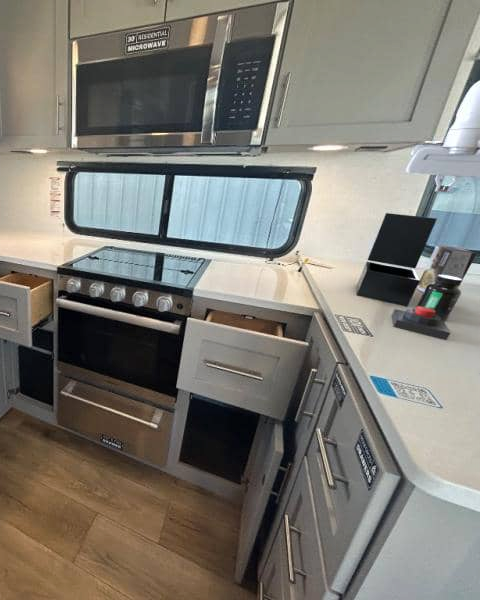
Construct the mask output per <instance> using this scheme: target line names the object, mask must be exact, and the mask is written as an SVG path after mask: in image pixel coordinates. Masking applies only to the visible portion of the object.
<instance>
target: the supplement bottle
mask: <svg viewBox="0 0 480 600" xmlns="http://www.w3.org/2000/svg"><path fill="white" fill-rule="evenodd" d="M435 281H436V282H435V283H432V284H429V285H428V286H427V287H426V289H425V291H424V292H422V295H421V296H420V297H421V298H420V299H419V301H418V303H417V305H416V306H415V309H416V308H417V306H421V307H427V308H430V309H433V310H435V311H436V312H435V314H436V315H438V316H440V318H441V320H444V321H447V320H448V318H449V316H450V315H451V313H452V311H453V309H454V308H455V305H456V304H457V302H458V301H459V299H460V297H461V295H462V290H461V289H460V288H458V286H459V287H460V286H461V283H463V280H462V279H460V278H457V277H453V276H448V275H438V276H437V278H436V279H435Z"/></svg>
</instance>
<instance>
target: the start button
mask: <svg viewBox="0 0 480 600" xmlns="http://www.w3.org/2000/svg"><path fill="white" fill-rule="evenodd" d="M416 307H417V308H416ZM416 307H415V308H414V309H415V311H414V313H416V314H418V315H421V316H425V317H433V316H434V314H435V312H436V311H435V310H433V309H430V308H427V307H421V306H417V305H416Z"/></svg>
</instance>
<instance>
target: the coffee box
mask: <svg viewBox="0 0 480 600" xmlns="http://www.w3.org/2000/svg"><path fill="white" fill-rule="evenodd" d="M477 254H478V252H475V251H471V250H468V249H466V248H461V247H456V246H446V245H445V246H443V245H436V246H435V247H434V250H433V252H432V254H431V256H430V258H429V260H428V262H427V265H426V267H425V269H424V271H423V272H422V275H421V277H420V278H419V280H420V282H419V284H418V286H417V288H416V290H418V291H420V292H422V293H424V291H425V289H426V287H427V286H428V285H429V284H432V283H435V282H436V281H435V279H436V278H437V276H438V275H448V276H453V277H457V278H460V279H462V281H463V280H464V279H465V277H466V274H467V273H468V271H469V269H470V267H471V265H472V264H473V262H474V260H475V258H476V256H477ZM458 289H460V286H458Z"/></svg>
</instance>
